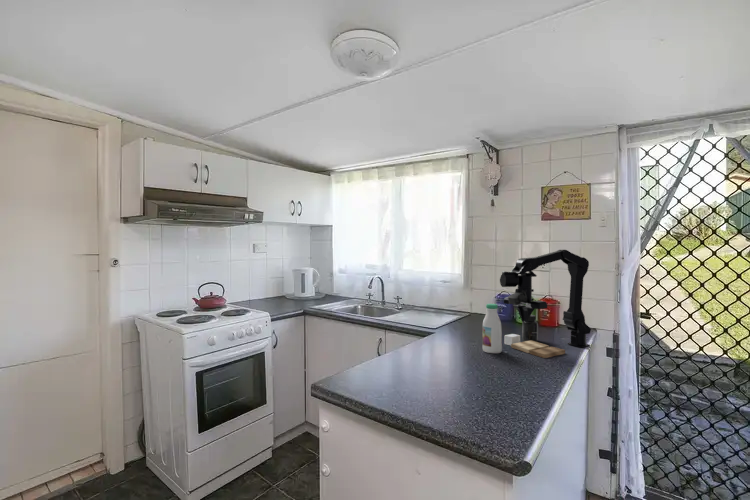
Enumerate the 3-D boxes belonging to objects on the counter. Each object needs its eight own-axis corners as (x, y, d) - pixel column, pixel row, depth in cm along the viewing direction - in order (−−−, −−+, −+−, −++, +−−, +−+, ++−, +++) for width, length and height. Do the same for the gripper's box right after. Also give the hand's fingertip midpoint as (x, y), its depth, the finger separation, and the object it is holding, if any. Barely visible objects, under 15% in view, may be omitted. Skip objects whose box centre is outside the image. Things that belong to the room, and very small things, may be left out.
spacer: (512, 342, 165) (512, 333, 165) (520, 344, 162) (520, 335, 162) (504, 344, 162) (504, 335, 162) (511, 346, 158) (511, 337, 158)
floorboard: (550, 349, 152) (550, 346, 152) (565, 353, 146) (565, 350, 146) (529, 353, 146) (529, 350, 146) (544, 358, 140) (544, 354, 140)
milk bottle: (499, 348, 154) (498, 303, 154) (503, 354, 146) (503, 305, 146) (480, 348, 154) (480, 302, 154) (484, 353, 147) (484, 305, 147)
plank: (531, 343, 161) (531, 340, 161) (548, 349, 153) (548, 345, 153) (511, 347, 155) (511, 343, 155) (528, 353, 147) (528, 349, 147)
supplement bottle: (536, 343, 163) (535, 317, 162) (520, 341, 167) (520, 315, 167) (539, 340, 168) (539, 315, 168) (524, 338, 172) (524, 313, 172)
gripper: (495, 285, 160) (495, 320, 160) (530, 289, 144) (530, 328, 144) (512, 284, 166) (512, 317, 166) (548, 288, 149) (548, 325, 149)
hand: (524, 322), depth 156 cm, fingers closed
